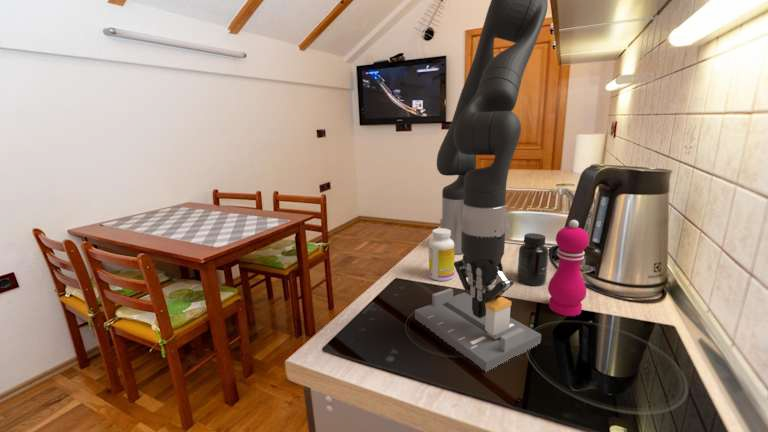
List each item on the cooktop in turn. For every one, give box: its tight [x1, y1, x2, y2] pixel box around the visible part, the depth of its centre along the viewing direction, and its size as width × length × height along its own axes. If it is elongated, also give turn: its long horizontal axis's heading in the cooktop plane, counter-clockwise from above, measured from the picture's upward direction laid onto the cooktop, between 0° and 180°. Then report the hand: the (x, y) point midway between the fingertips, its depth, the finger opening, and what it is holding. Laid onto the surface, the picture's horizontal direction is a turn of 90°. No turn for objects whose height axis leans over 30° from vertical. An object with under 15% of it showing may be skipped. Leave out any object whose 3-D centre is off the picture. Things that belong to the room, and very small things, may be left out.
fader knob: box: [485, 296, 512, 339], centre depth 64 cm, size 2×4×6 cm, turn 121°
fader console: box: [414, 288, 542, 373], centre depth 69 cm, size 20×14×4 cm
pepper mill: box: [547, 219, 590, 317], centre depth 74 cm, size 7×7×20 cm
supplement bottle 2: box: [516, 232, 549, 287], centre depth 89 cm, size 7×7×12 cm
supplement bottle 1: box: [428, 227, 455, 282], centre depth 93 cm, size 7×7×13 cm
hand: (479, 315), depth 67 cm, fingers closed
